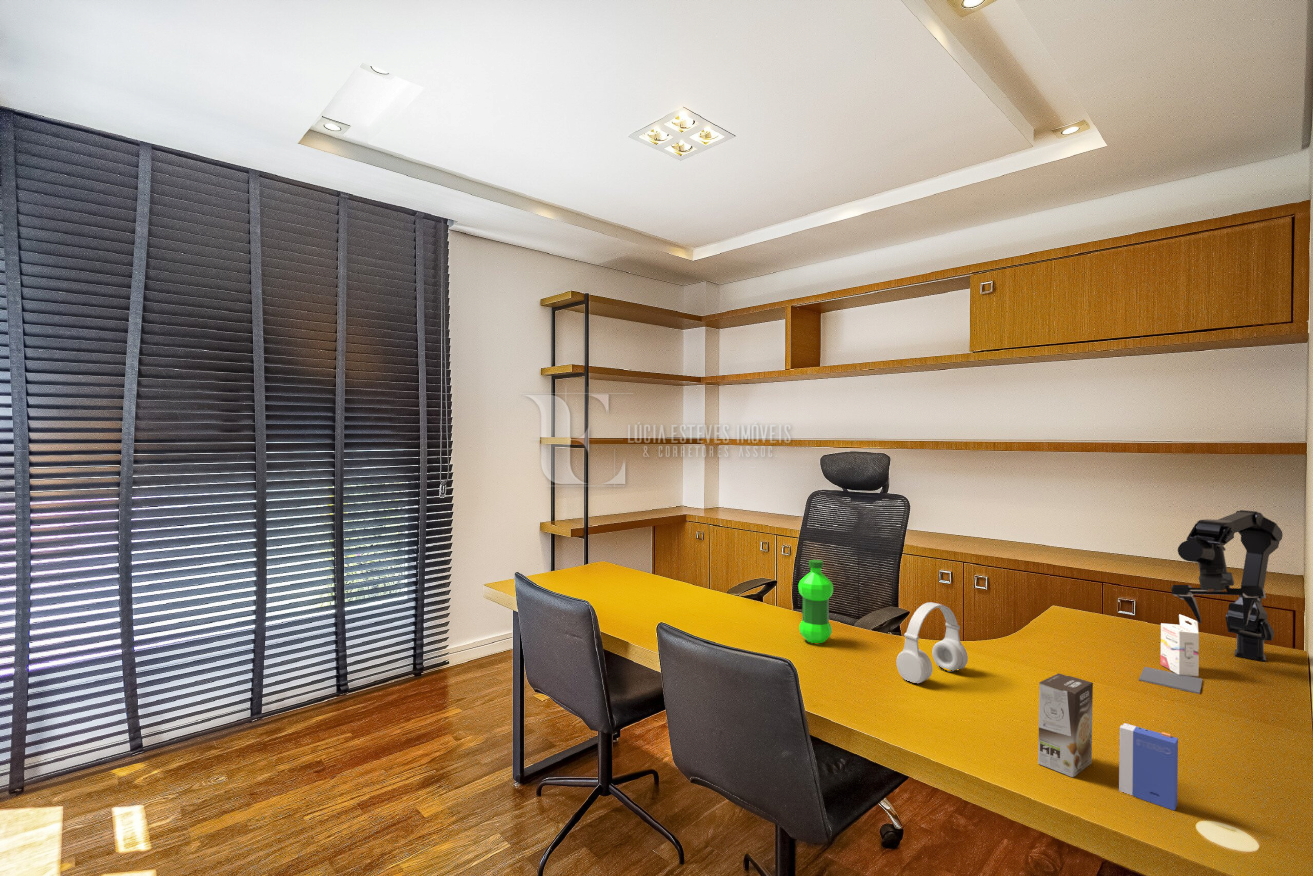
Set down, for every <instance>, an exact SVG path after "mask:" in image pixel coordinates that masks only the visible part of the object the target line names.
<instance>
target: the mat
mask: <svg viewBox="0 0 1313 876" xmlns="http://www.w3.org/2000/svg"><path fill="white" fill-rule="evenodd" d="M1138 681H1140V682H1145V683H1149V684H1154V685H1158V686H1163V687H1166V688H1167V687H1168V688H1171V689H1175V690H1181V691H1184V692H1188V693H1192V694H1198V695H1200V693H1201V689H1202V684H1203V678H1201V677H1197V676H1188V675H1178V674H1177V673H1175V672H1173V671H1167V670H1163V669H1158V668H1152V667H1148V666H1144V667H1143V669H1142V671H1141V673H1140V676H1139V677H1138Z"/></svg>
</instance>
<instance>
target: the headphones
mask: <svg viewBox="0 0 1313 876" xmlns="http://www.w3.org/2000/svg"><path fill="white" fill-rule="evenodd" d="M935 609H940V611H941V613H942V614H943V616H944V621H945V627H946V628H945V634H944V638H943V639H942V640H940V641H937V642H936V643H935V644H933V647H932V651H931V652H932V653H931V654H932V658H933V660H934V663H935V664H936V666H938V667H939V666H940V667H942V668H946V669H949V670H952V671H951V672H955V671H954V670H957V669H961V670H962V669H964V668H965V667H966V666H967V664H968V660H969V656H968V652H967V650H966V648H965V647H964V645H963V644H962V642H961V638H960V637H961V636H960V633H959V632H960V629H961V626H960V625H958V624H959V623H958V621H957V618H956V615H955V613H954V612H953V611H952V610H951V608H949V607H948V606H946V605H944V604H941V603H936V602H932V601H930V602H925V603H923V604H922V605H920V606H919V607H918V608H916V610H915V611H914V613H913V615H912V616H911V618H910V621H909V623H908V627H907V629H906V632H905V633H904V634H903V636H904V638H905V639H904V646H903V649H902V651H901V652H899V653H898V655H897V657H896V661H895V663H896V668H897V671H898V673H899V675H900V676H901V677H902V679H904V681H906V680H907V681H910V682H913V683H917V684H921V683H923V682H924V681H927V680H929V679H930V678H931V676H932V674H933V670H934V669H933V664H932V663H933V662H932V661H931V659H930V657H929V656H928V654H927V653H926V652H925V651H923V650H921V649H920V648H919V640H920V636H919V633H920V631H921V628H922V625H923V623H924V621H925V619H926V617H928V615H929V613H930V612H932V611H934V610H935ZM940 667H939V668H940ZM957 671H958V670H957ZM907 681H906V682H907Z"/></svg>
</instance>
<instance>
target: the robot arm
mask: <svg viewBox="0 0 1313 876" xmlns="http://www.w3.org/2000/svg"><path fill="white" fill-rule="evenodd" d="M1236 533H1238V534H1239V535H1240V542H1241V544H1242V546H1244V549H1245V550H1246V551H1245V552H1246V553H1245V557H1244V559H1245V560H1244V563H1243V565H1244V566H1243V570H1242V575H1241V576H1242V578H1241V584H1240V588H1238V587H1237V588H1233V587H1232V586H1234V585H1235V579H1234V576H1233V573H1232V571H1231V572H1230V571H1229V572H1228V567H1227V564H1226V563H1227V562H1226V557H1225V551H1226V550H1227V549H1226V547H1225V545H1227V544H1228V543H1229V542H1231V541H1232V540H1233V539H1235V534H1236ZM1282 539H1283V531H1282V529H1281V528H1280V527H1279V525H1278V524H1277V523H1276V522H1274V521H1272V520H1271V519H1269V518H1267V517H1265V516H1264V515H1263V514H1262V513H1261V512H1258V511H1255V510H1243V509H1240V510H1237V511H1236V512H1235V513H1231V514H1229V515H1226V516H1223V517H1221V518H1218V519H1211V518H1210V519H1209V518H1208V519H1207V518H1205V519H1200V520H1198V521H1197V522H1196V523H1195V524H1194V525H1193V527H1192V529H1191V531H1190V532H1189V534H1188V536H1187V537H1186V540H1184V541H1182V542H1181V543H1180V544H1179V546H1178V547H1177V553H1178V555H1179V557H1180V558H1181V559H1182V560H1184V561H1187V562H1192V563H1195V564H1197V565H1198V569H1199V576H1198V582H1199V587H1192V585H1190V584H1173V585H1172V586H1171V588H1170V589H1171V595H1172V596H1174V597H1178V598H1179V599H1180V600H1184V601H1185V603H1186V604H1187V605H1188V607H1189V609H1190V610H1191V611H1192V613H1193V615H1194V616H1195V618H1196V621H1197V622H1198V624H1202V618H1201V613H1200V610H1199V606H1198V603H1197V598H1195V597H1194V595H1207V596H1208V595H1214V596H1215V595H1217V596H1219V595H1220V596H1221V595H1222V596H1238V598H1237V600H1235V601H1234V602H1232V601H1231V602H1229V604H1228V609H1227V613H1226V615H1225V623H1226V627H1227V632H1228V633H1232V634H1236V649H1234V657H1239V658H1244V659H1248V660H1255V661H1259V660H1260V662H1267V657H1266V654H1265V653H1264V651H1265V648H1264V647H1265V641H1270V642H1272V641H1273V639H1274V634H1275V631H1274V628H1272V626H1271V624H1270V623H1269V621H1268V613H1267V611H1266V610H1265V608H1264V606H1263V604H1262V601H1263V599H1266V598H1267V597H1266V596H1267V595H1266V592H1265V582H1266V576H1267V575H1266V574H1267V572H1268V571H1267V570H1268V564H1269V563H1268V562H1269V558H1270V555H1271V554H1272V553H1274V552H1275V551H1276V550H1277V549H1278V548H1279V545H1280V542H1281V541H1282ZM1225 590H1226V591H1225Z"/></svg>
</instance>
